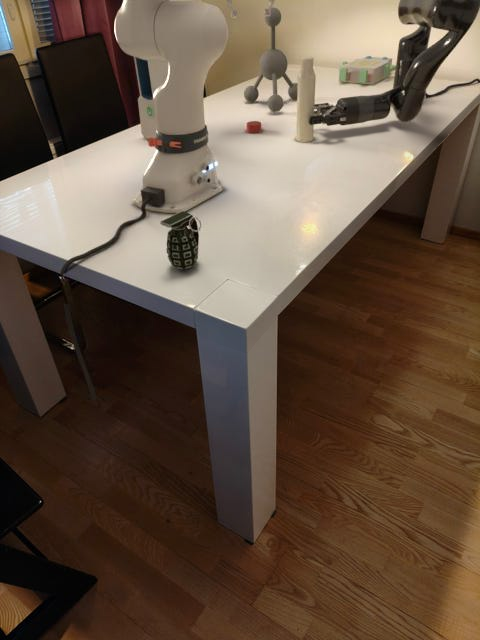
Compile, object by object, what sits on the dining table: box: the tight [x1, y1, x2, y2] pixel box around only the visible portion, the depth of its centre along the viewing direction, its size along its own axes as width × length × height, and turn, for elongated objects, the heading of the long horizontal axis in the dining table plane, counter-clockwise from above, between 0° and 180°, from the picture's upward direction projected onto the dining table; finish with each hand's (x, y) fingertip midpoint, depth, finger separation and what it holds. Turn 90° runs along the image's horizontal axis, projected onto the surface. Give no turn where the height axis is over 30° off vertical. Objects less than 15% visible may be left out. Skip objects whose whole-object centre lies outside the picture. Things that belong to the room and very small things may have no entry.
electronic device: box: [133, 56, 169, 140], centre depth 143 cm, size 12×8×30 cm, turn 47°
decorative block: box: [338, 55, 396, 85], centre depth 201 cm, size 26×6×20 cm
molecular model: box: [243, 6, 298, 113], centre depth 169 cm, size 24×22×30 cm
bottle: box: [295, 56, 317, 143], centre depth 139 cm, size 5×5×22 cm
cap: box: [246, 120, 262, 134], centre depth 154 cm, size 5×5×2 cm
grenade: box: [159, 211, 202, 271], centre depth 88 cm, size 7×6×10 cm
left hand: (250, 17), depth 136 cm, fingers open, 8 cm apart
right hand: (303, 116), depth 142 cm, fingers open, 8 cm apart
